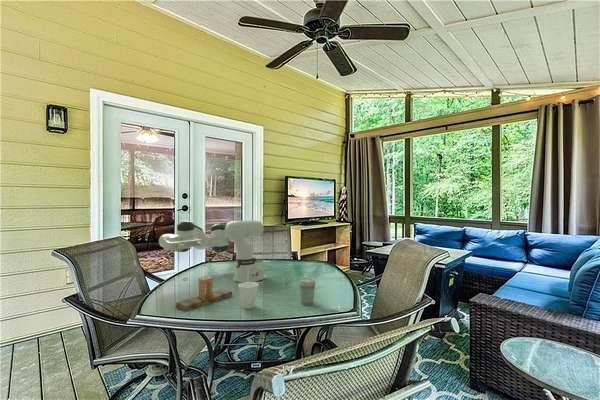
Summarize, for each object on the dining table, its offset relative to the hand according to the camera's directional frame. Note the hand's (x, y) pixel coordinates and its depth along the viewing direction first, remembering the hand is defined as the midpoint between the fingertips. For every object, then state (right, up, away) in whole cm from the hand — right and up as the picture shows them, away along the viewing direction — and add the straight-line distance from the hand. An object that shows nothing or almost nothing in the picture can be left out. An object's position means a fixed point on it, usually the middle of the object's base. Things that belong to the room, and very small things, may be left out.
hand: (192, 245), depth 161 cm
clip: (+9, -28, -7) cm, 31 cm away
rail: (+10, -28, -7) cm, 30 cm away
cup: (+33, -28, -14) cm, 46 cm away
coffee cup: (+62, -29, -9) cm, 69 cm away
